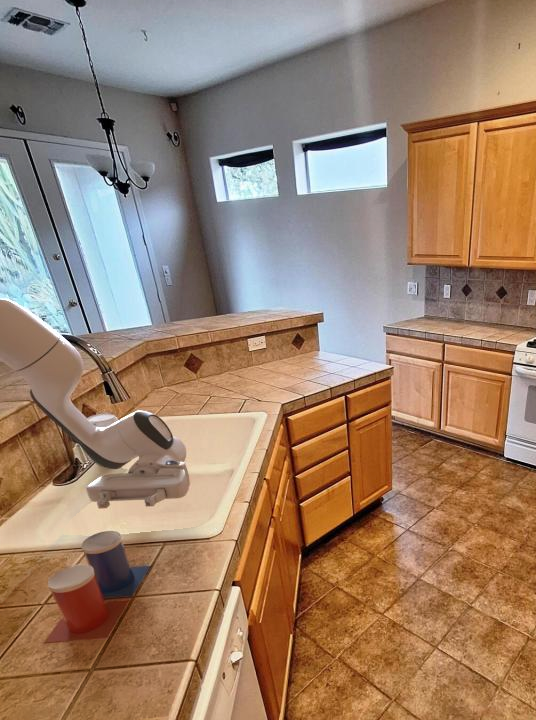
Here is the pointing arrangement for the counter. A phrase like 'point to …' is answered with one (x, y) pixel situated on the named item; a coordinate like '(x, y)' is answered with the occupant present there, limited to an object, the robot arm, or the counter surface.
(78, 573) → the red tumbler
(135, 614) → the counter surface
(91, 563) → the blue tumbler
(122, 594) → the slate-blue mat
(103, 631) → the terracotta mat
